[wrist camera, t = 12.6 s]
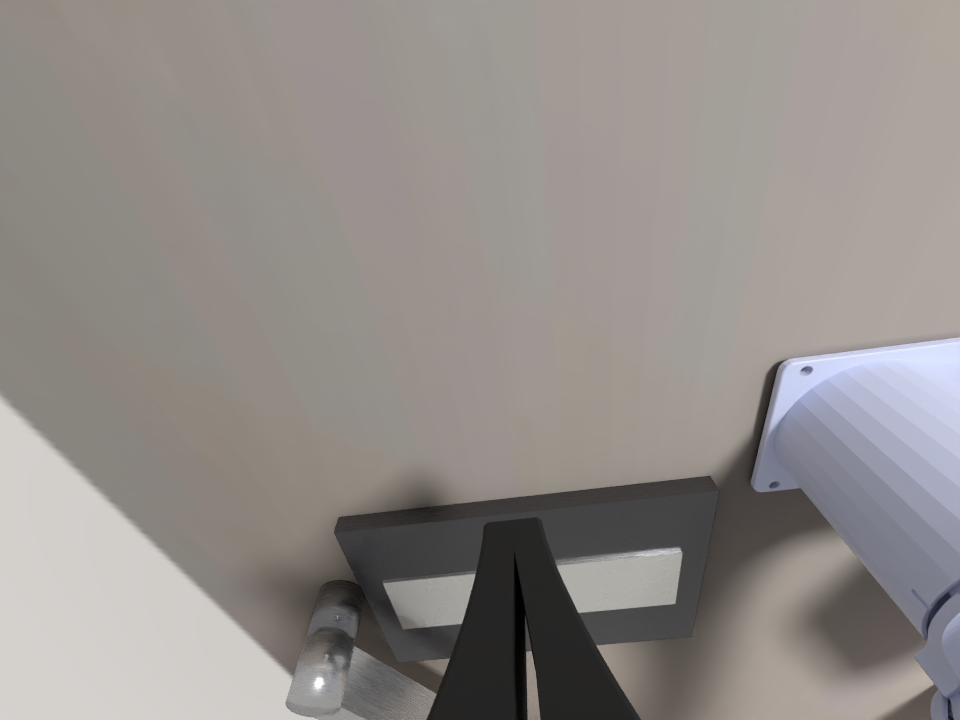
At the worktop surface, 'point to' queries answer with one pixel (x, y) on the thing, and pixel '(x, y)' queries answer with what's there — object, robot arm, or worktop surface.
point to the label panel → (574, 546)
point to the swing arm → (352, 684)
